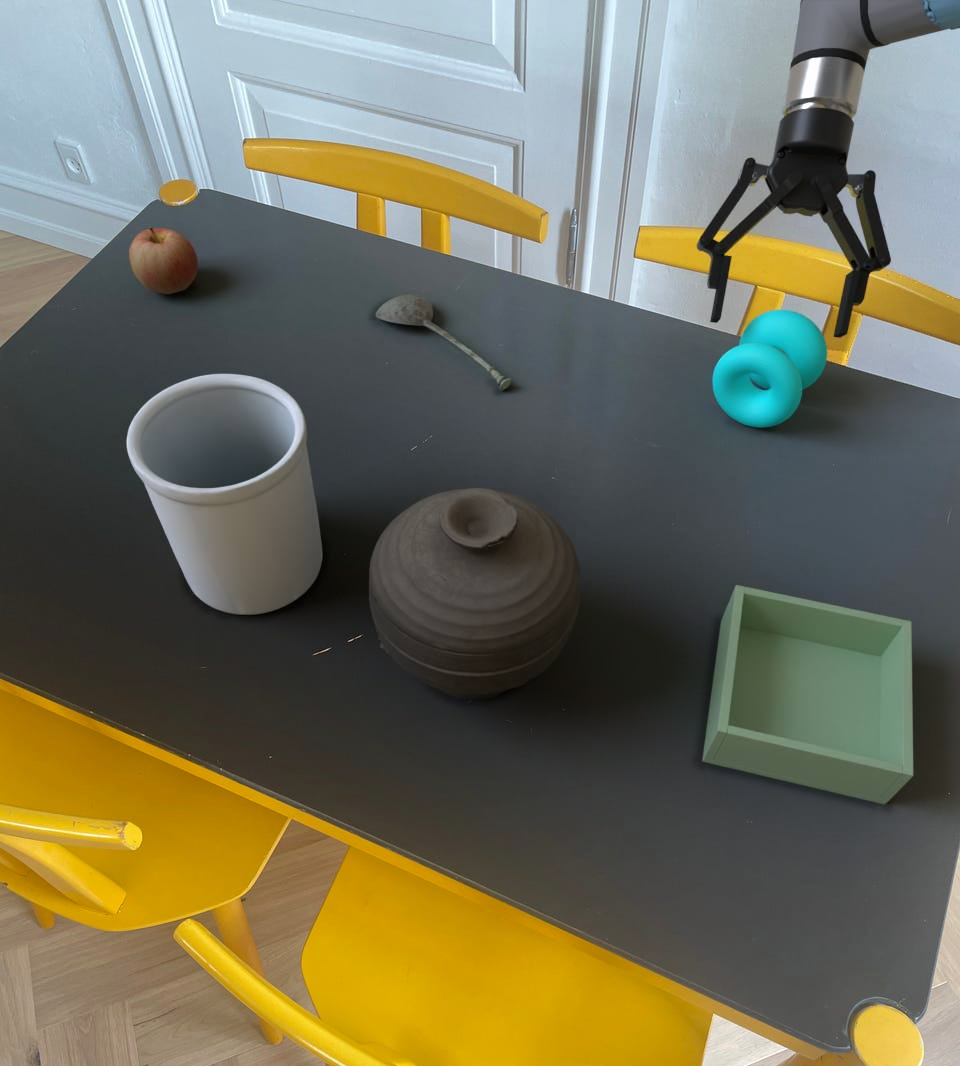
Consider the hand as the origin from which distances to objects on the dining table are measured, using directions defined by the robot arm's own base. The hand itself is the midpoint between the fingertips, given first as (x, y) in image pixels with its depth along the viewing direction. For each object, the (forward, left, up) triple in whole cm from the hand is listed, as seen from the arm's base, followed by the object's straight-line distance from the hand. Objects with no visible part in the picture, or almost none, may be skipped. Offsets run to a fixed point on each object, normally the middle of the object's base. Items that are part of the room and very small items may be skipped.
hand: (777, 328), depth 98 cm
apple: (+75, +1, -9) cm, 75 cm away
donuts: (0, +3, -9) cm, 9 cm away
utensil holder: (+47, +40, -9) cm, 62 cm away
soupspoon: (+38, +3, -9) cm, 39 cm away
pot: (+23, +45, -9) cm, 51 cm away
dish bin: (-7, +43, -8) cm, 44 cm away
